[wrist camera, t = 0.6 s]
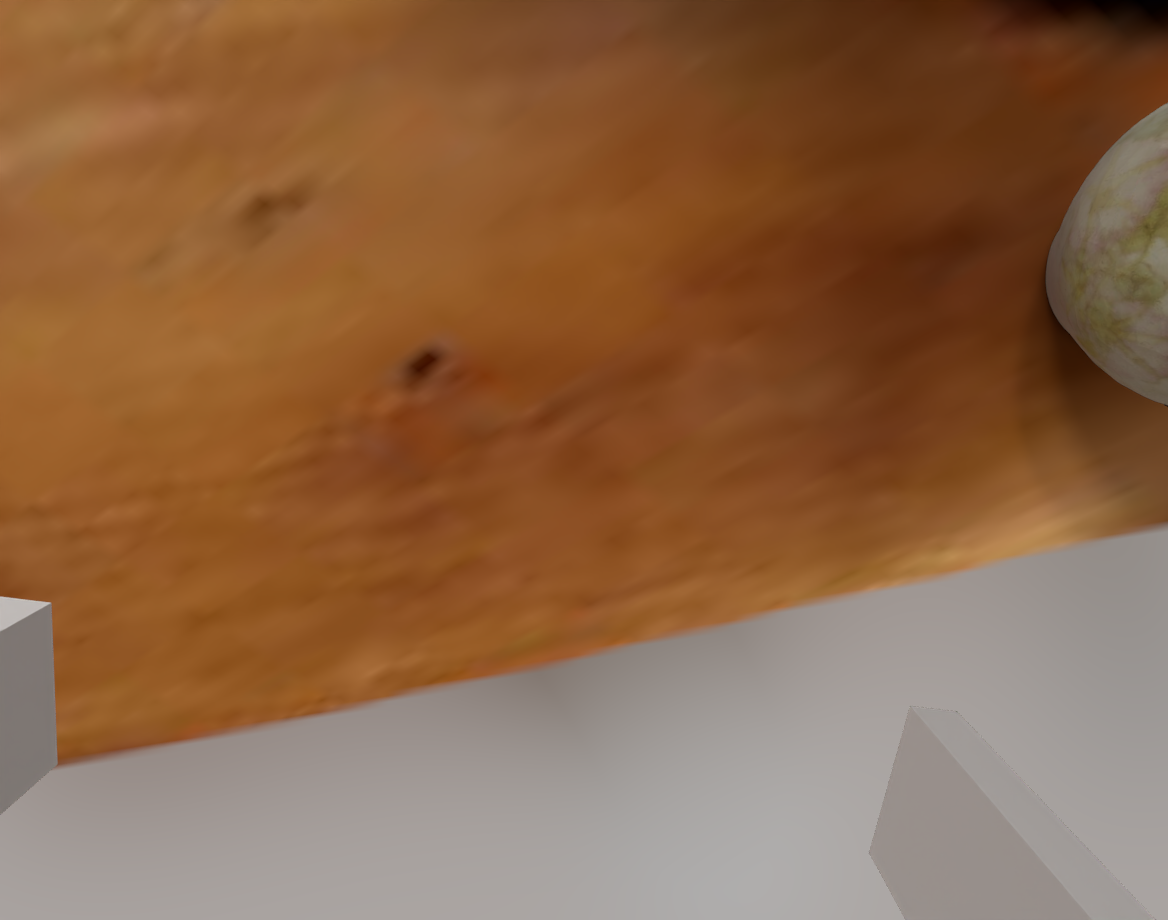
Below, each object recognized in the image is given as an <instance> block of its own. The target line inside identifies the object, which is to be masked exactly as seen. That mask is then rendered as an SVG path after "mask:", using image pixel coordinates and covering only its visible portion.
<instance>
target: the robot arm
mask: <svg viewBox="0 0 1168 920" xmlns="http://www.w3.org/2000/svg"><path fill="white" fill-rule="evenodd" d="M56 765H57V739H56V713H55V687H54V660H53V634H52V607H51V603H49V602H40V601H32V600H24V599H15V598H7V597H0V815H1V814H2V813H3V812H4V811H5V810H6V809H7V808H8V807H10V806H11V805H12V804H13V803H14V802H15V801H16V800H18V799H19V798H20V797H21V796H22V795H23V794H24V793H26V792H27V791H28V790H29V789H30V788H31V787H32V786H33V785H34V784H36V783H37V782H38V781H39V780H40V779H41V778H43V777H44V776H45V775H46V774H47V773H48V772H49V771H50V770H52V769H53V768H54V767H55V766H56ZM869 853H870V855H871V857H872V859H873V861H874V863H875V864H876V866H877V868H878V870H879V872H880V874H881V875H882V877H883V879H884V881H885V883H886V885H887V887H888V888H889V890H890V892H891V894H892V896H893V898H894V899H895V901H896V903H897V905H898V907H899V909H900V911H901V912H902V914H903V916H904V918H905V919H906V920H1156V919H1155V918H1154V917H1152V915H1151V914H1150V913H1149V912H1148V911H1147V910H1146V909H1145V908H1144V907H1143V906H1142V905H1141V904H1140V903H1139V902H1138V901H1137V900H1136V899H1135V897H1133V895H1132V894H1131V893H1130V892H1129V891H1128V890H1127V889H1126V888H1125V887H1124V886H1123V885H1122V884H1121V883H1120V882H1119V881H1118V880H1117V879H1116V878H1115V877H1114V875H1113V874H1112V873H1111V872H1110V871H1109V870H1108V869H1107V868H1106V867H1105V866H1104V865H1103V864H1102V863H1101V862H1100V861H1099V860H1098V859H1097V858H1096V857H1095V855H1093V853H1092V852H1091V851H1090V850H1089V849H1088V848H1087V847H1086V846H1085V845H1084V844H1083V843H1082V842H1081V841H1080V840H1079V839H1078V838H1077V837H1076V836H1075V835H1074V834H1073V833H1072V831H1071V830H1070V829H1069V828H1068V827H1067V826H1066V825H1065V824H1064V823H1063V822H1062V821H1061V820H1060V819H1059V818H1058V817H1057V816H1056V815H1055V814H1054V812H1053V811H1052V810H1051V809H1050V808H1049V807H1048V806H1047V805H1046V804H1045V803H1044V802H1043V801H1042V800H1041V799H1040V798H1039V797H1038V796H1037V795H1036V794H1035V793H1034V792H1033V791H1032V789H1031V788H1030V787H1029V786H1028V785H1027V784H1026V783H1025V782H1024V781H1023V780H1022V779H1021V778H1020V777H1019V776H1018V775H1017V774H1016V773H1015V772H1014V771H1013V770H1012V768H1010V766H1009V765H1008V764H1007V763H1006V762H1005V761H1003V759H1002V758H1001V757H1000V756H999V755H998V754H997V753H996V752H995V751H994V750H993V749H992V747H991V746H990V745H989V744H988V743H987V742H986V741H985V740H984V739H983V738H982V737H981V736H980V735H979V734H978V733H977V732H976V731H975V730H974V729H973V728H972V727H971V725H969V723H968V722H967V721H966V720H965V719H964V718H963V717H962V716H961V715H960V714H959V713H958V712H957V711H949V710H941V709H933V708H924V707H916V706H910V708H909V712H908V715H907V719H906V722H905V726H904V730H903V733H902V737H901V740H900V744H899V747H898V751H897V755H896V758H895V762H894V765H893V769H892V772H891V776H890V780H889V783H888V787H887V790H886V794H885V797H884V801H883V805H882V808H881V812H880V815H879V819H878V822H877V826H876V830H875V833H874V837H873V840H872V844H871V847H870V851H869Z"/></svg>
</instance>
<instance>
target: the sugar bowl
mask: <svg viewBox="0 0 1168 920" xmlns="http://www.w3.org/2000/svg"><path fill="white" fill-rule="evenodd" d="M1046 291H1047V296H1048V300H1049V304H1050V306H1051V308H1052V310H1053V313H1054V315H1055V316H1056V318H1057V320H1058V321H1059V323H1060V324H1061V325H1062V326H1063V328H1064V329H1065V330H1066V331H1067V332H1068V333H1069V334H1070V335H1071V336H1072V337H1073V339H1074V340H1075V341H1076V342H1077V344H1078V345H1079V346H1080V347H1081V348H1082V350H1083V351H1084V352H1085V353H1086V354H1087V355H1088V357H1089V358H1090V359H1091V360H1092V361H1093V362H1094V363H1095V364H1096V365H1097V366H1098V367H1100V368H1101V369H1102V370H1103V371H1105V372H1106V373H1107V374H1108V375H1109V376H1111V377H1112V378H1113V379H1114V380H1116V381H1117V382H1118V383H1120V384H1122V385H1123V386H1125V387H1127V388H1129V389H1131V390H1133V391H1134V392H1136V393H1138V394H1140V395H1142V396H1144V397H1146V398H1148V399H1151V400H1153V401H1156V402H1159V403H1162V404H1164V405H1165V406H1167V407H1168V103H1167V104H1165V105H1163V106H1161V107H1160V108H1158V109H1157V110H1155V111H1154V112H1152V113H1151V114H1149V115H1148V116H1147V117H1145V118H1144V119H1142V120H1141V121H1139V122H1138V123H1137V124H1136V125H1134V126H1133V127H1132V128H1131V129H1130V130H1128V131H1127V132H1126V133H1125V134H1124V135H1123V136H1122V137H1121V138H1120V139H1119V140H1118V141H1117V142H1116V143H1115V144H1114V145H1113V146H1112V147H1111V148H1110V149H1109V150H1108V151H1107V152H1106V153H1105V155H1104V156H1103V157H1102V158H1101V159H1100V161H1099V162H1098V163H1097V165H1096V166H1095V167H1094V168H1093V170H1092V171H1091V172H1090V174H1089V175H1088V176H1087V178H1086V179H1085V181H1084V182H1083V184H1082V186H1081V187H1080V189H1079V191H1078V192H1077V194H1076V196H1075V197H1074V199H1073V201H1072V203H1071V205H1070V207H1069V209H1068V211H1067V213H1066V215H1065V217H1064V219H1063V222H1062V224H1061V227H1060V229H1059V231H1058V233H1057V234H1056V236H1055V238H1054V240H1053V243H1052V245H1051V247H1050V251H1049V255H1048V260H1047V266H1046Z"/></svg>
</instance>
